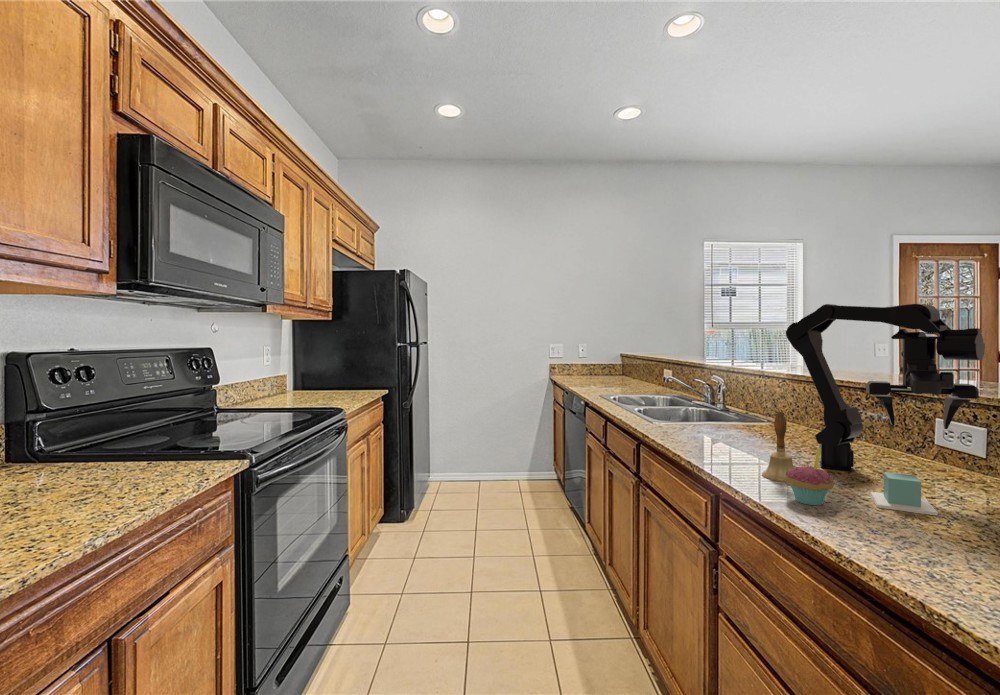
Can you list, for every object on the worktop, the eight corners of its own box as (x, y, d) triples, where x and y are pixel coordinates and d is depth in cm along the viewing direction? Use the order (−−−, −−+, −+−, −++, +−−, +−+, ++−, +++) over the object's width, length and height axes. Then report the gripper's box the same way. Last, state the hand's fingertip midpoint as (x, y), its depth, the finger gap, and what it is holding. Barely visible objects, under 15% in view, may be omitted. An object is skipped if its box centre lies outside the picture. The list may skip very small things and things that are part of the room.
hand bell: (764, 480, 113) (764, 413, 113) (759, 471, 121) (759, 408, 121) (804, 484, 110) (805, 415, 110) (797, 474, 118) (797, 410, 117)
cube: (888, 503, 95) (888, 478, 95) (883, 495, 100) (883, 472, 99) (921, 507, 93) (921, 481, 93) (914, 499, 97) (915, 475, 97)
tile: (877, 507, 95) (877, 504, 95) (870, 494, 102) (870, 491, 102) (937, 515, 90) (937, 512, 90) (925, 501, 98) (925, 498, 98)
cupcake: (826, 497, 101) (826, 440, 101) (840, 511, 93) (840, 449, 93) (780, 493, 104) (780, 438, 104) (790, 506, 96) (790, 446, 96)
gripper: (873, 360, 107) (872, 429, 107) (988, 361, 97) (988, 437, 97) (865, 358, 116) (865, 421, 117) (970, 359, 107) (969, 428, 107)
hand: (918, 427), depth 109 cm, fingers open, 9 cm apart
